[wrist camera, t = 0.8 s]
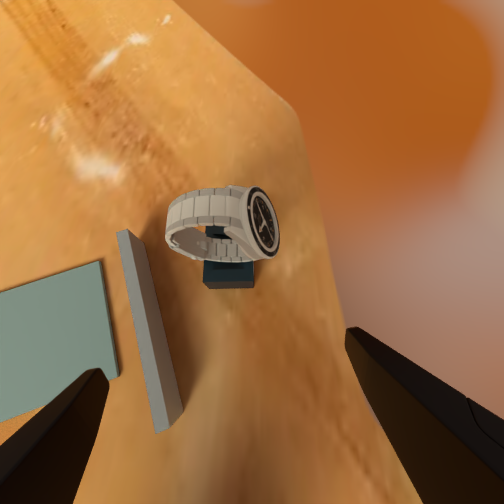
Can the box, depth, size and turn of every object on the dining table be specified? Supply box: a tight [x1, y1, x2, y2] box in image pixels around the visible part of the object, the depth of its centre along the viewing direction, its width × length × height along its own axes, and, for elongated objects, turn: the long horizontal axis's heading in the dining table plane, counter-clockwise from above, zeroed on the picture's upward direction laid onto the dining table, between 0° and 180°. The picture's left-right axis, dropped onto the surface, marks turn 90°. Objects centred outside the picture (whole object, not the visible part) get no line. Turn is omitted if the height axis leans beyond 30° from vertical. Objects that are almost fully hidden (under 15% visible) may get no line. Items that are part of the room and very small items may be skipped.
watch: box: [165, 185, 280, 289], centre depth 19 cm, size 6×8×11 cm
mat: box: [0, 261, 120, 422], centre depth 21 cm, size 11×10×1 cm
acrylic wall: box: [116, 229, 184, 434], centre depth 20 cm, size 16×1×4 cm, turn 21°
